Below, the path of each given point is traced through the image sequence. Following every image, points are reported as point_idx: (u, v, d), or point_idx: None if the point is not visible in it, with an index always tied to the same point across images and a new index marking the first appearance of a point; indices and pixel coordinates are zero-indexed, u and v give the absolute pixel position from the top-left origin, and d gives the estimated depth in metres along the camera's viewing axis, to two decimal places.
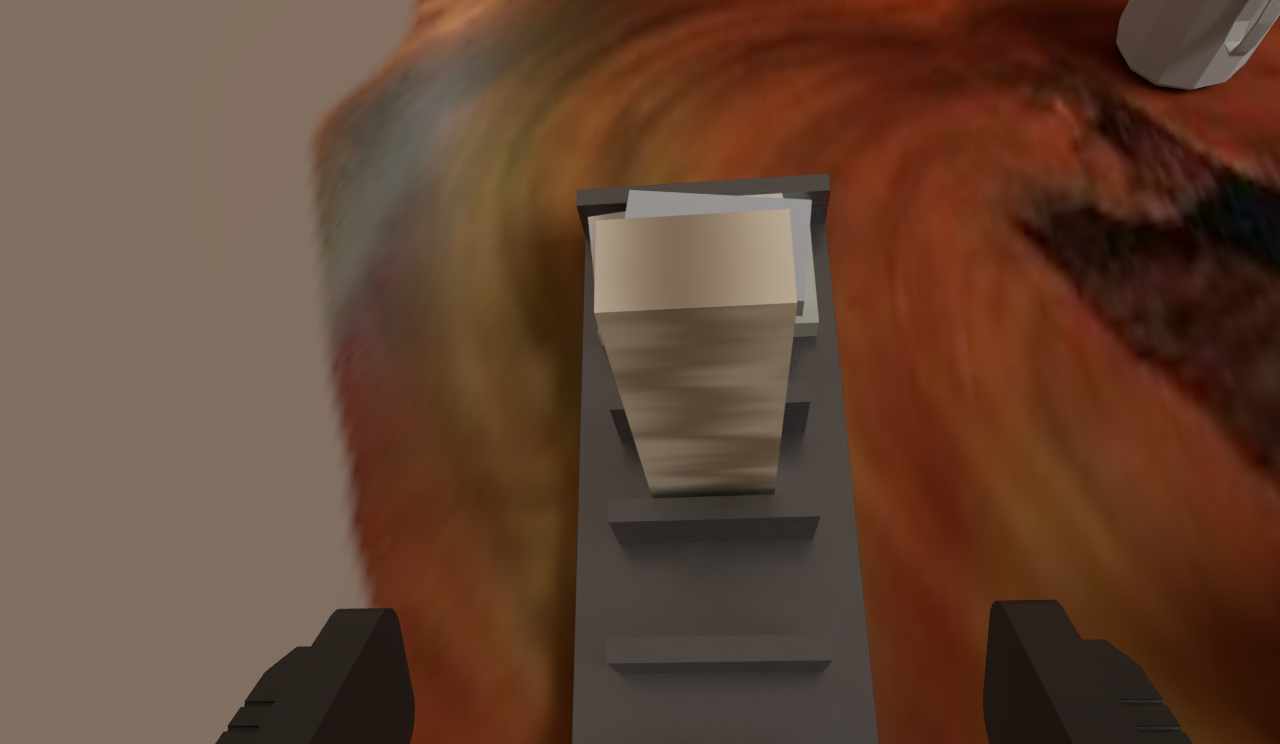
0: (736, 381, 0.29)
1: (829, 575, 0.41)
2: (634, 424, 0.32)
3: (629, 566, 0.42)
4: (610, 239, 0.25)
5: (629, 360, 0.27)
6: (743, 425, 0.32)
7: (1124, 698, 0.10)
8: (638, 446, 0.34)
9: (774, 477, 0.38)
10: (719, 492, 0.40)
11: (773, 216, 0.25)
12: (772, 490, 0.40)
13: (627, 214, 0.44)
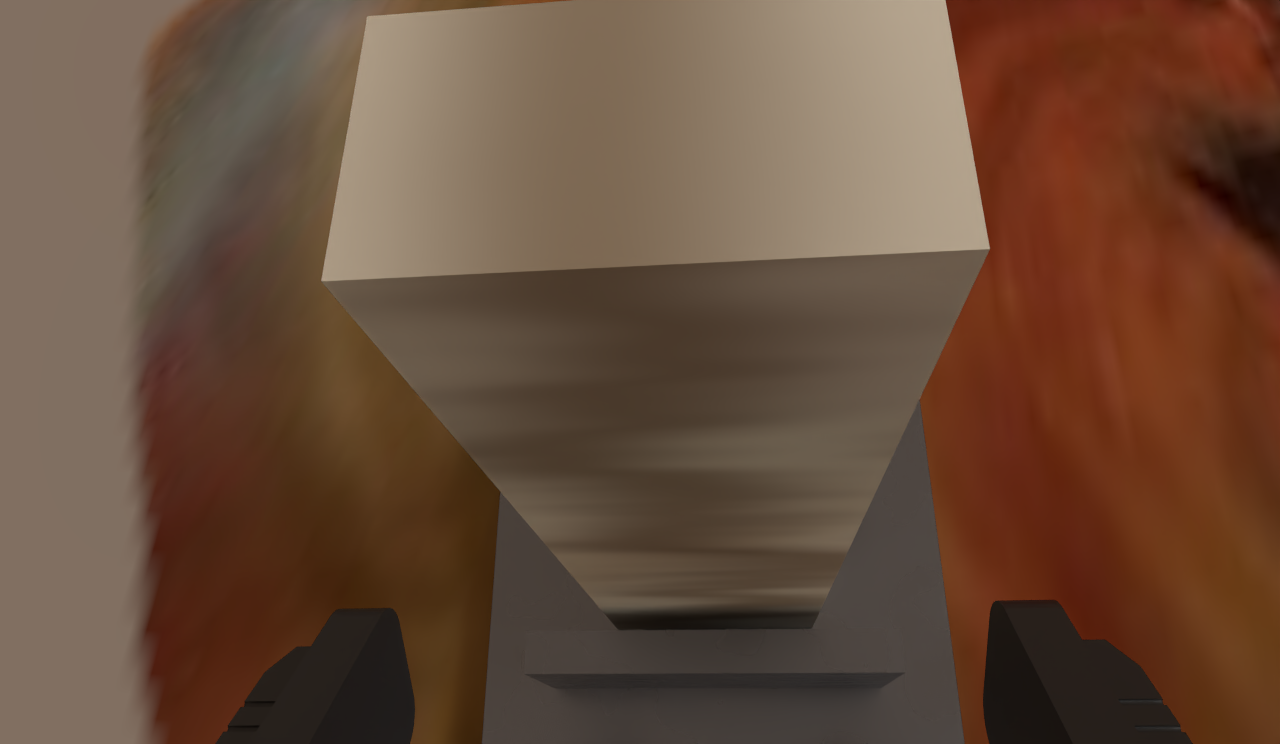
0: (764, 461, 0.12)
1: None
2: (546, 531, 0.15)
3: (570, 729, 0.25)
4: (401, 66, 0.09)
5: (486, 413, 0.10)
6: (773, 534, 0.15)
7: (1124, 698, 0.10)
8: (563, 561, 0.18)
9: (822, 599, 0.21)
10: (722, 613, 0.23)
11: None
12: (815, 612, 0.23)
13: None
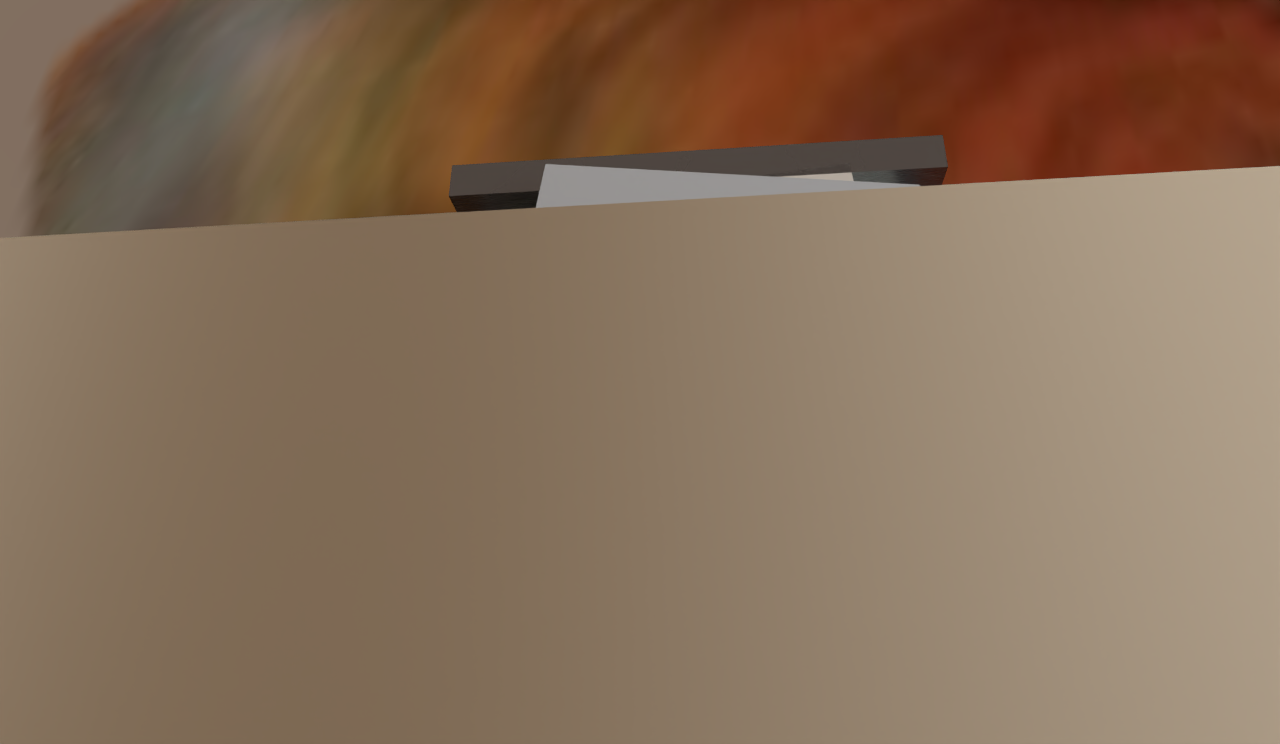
0: None
1: None
2: None
3: None
4: None
5: None
6: None
7: None
8: None
9: None
10: None
11: None
12: None
13: None
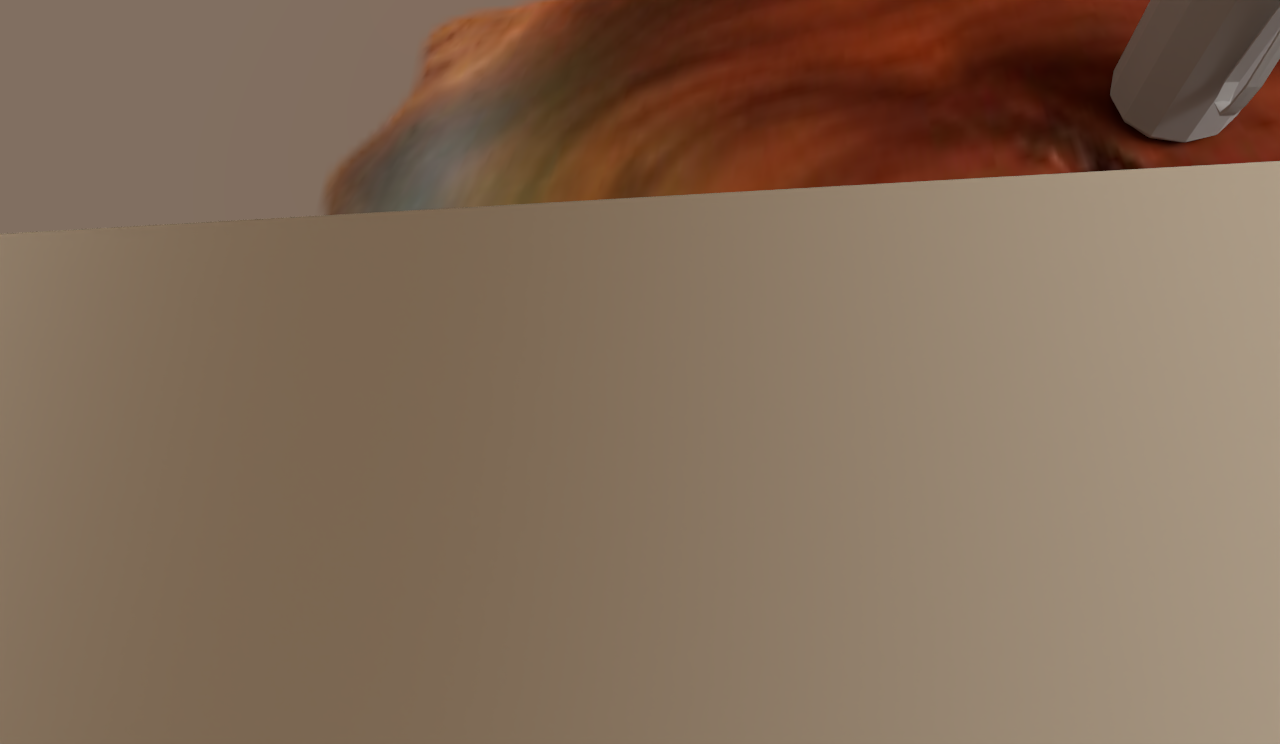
0: None
1: None
2: None
3: None
4: None
5: None
6: None
7: None
8: None
9: None
10: None
11: None
12: None
13: None
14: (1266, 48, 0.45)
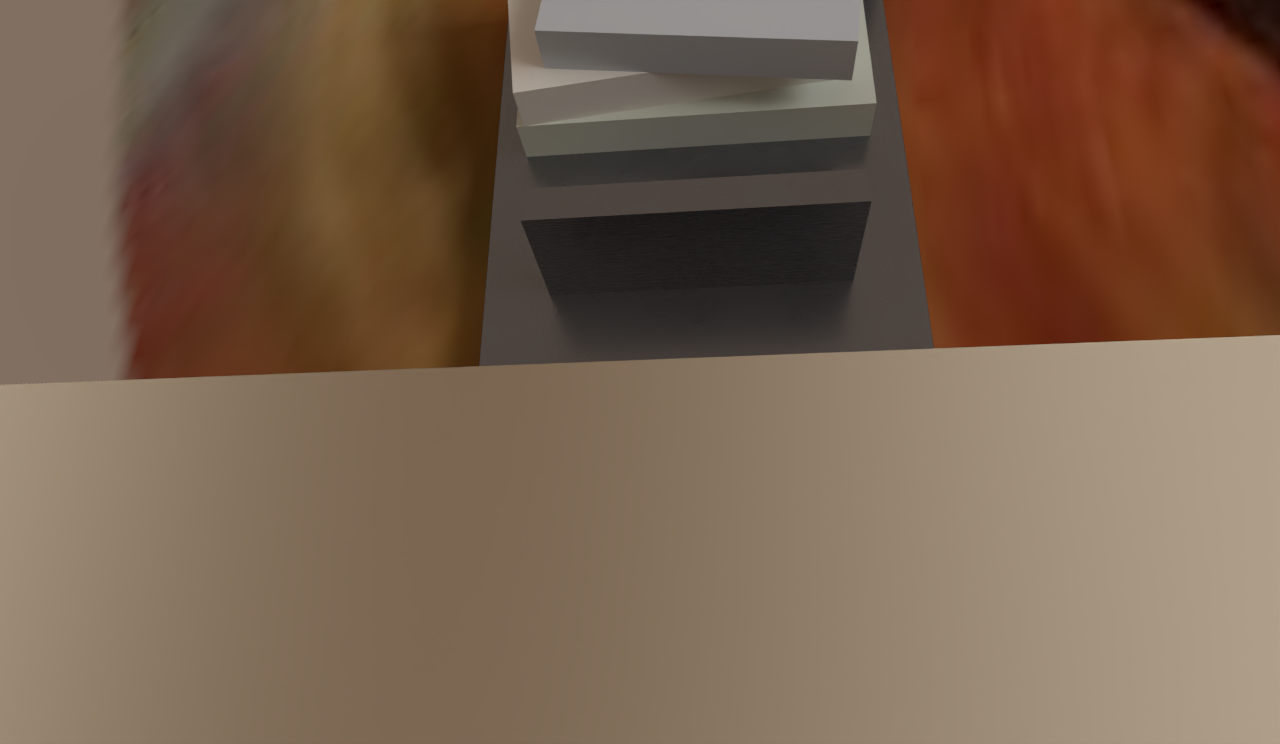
0: None
1: None
2: None
3: None
4: (7, 536, 0.04)
5: None
6: None
7: None
8: None
9: None
10: None
11: (1172, 390, 0.03)
12: None
13: None
14: None
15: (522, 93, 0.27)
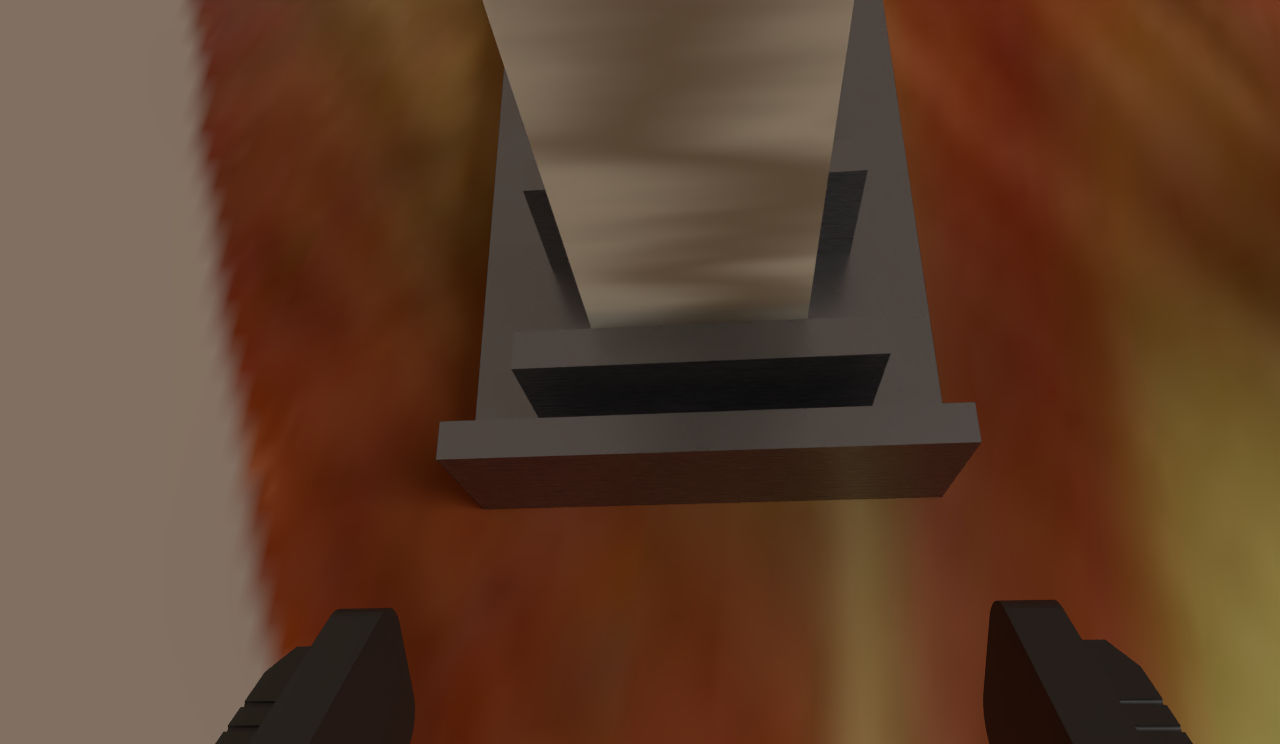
0: None
1: (856, 139, 0.28)
2: (529, 105, 0.15)
3: None
4: None
5: None
6: (756, 111, 0.16)
7: (1124, 698, 0.10)
8: (548, 188, 0.18)
9: (808, 288, 0.21)
10: None
11: None
12: None
13: None
14: None
15: None
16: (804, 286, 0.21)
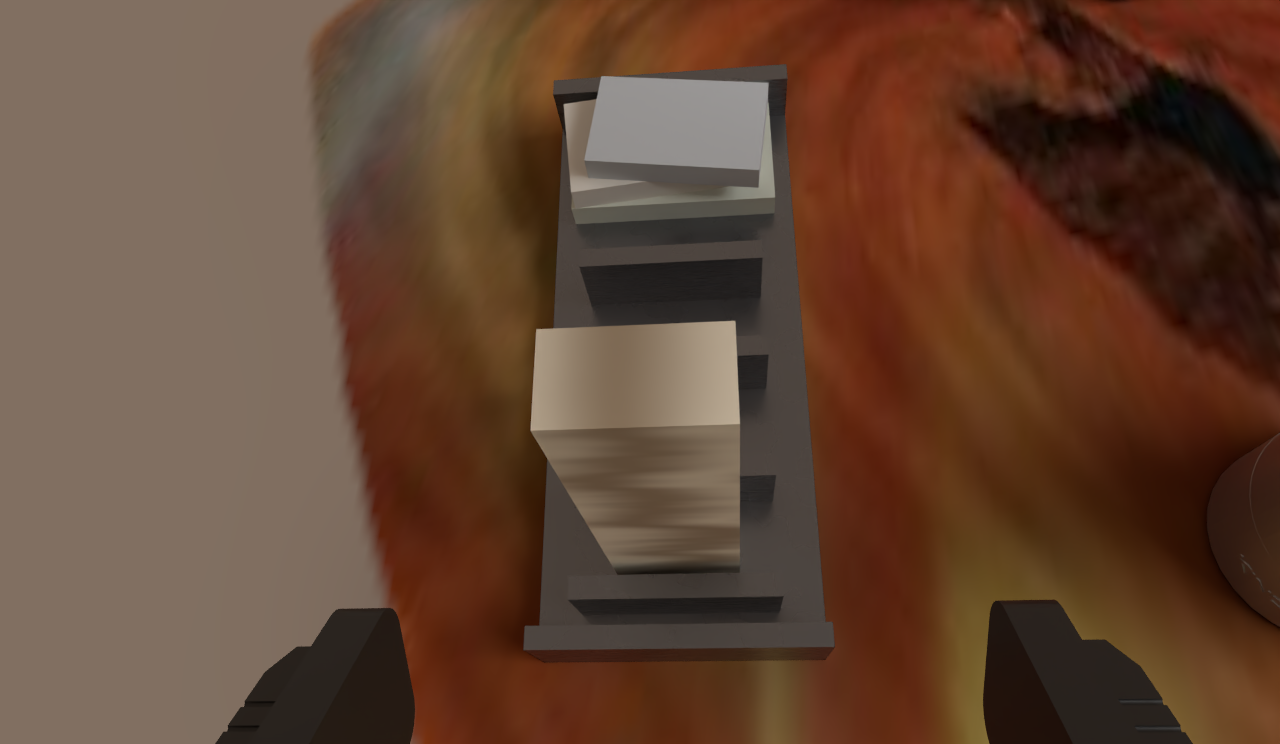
0: (686, 484, 0.28)
1: (780, 419, 0.44)
2: (588, 516, 0.31)
3: None
4: (550, 350, 0.25)
5: (572, 467, 0.26)
6: (699, 517, 0.32)
7: (1124, 698, 0.10)
8: (594, 532, 0.34)
9: (737, 557, 0.37)
10: (683, 567, 0.39)
11: (719, 328, 0.24)
12: (737, 566, 0.39)
13: (599, 97, 0.48)
14: None
15: (576, 192, 0.48)
16: (735, 556, 0.37)
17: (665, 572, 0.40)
